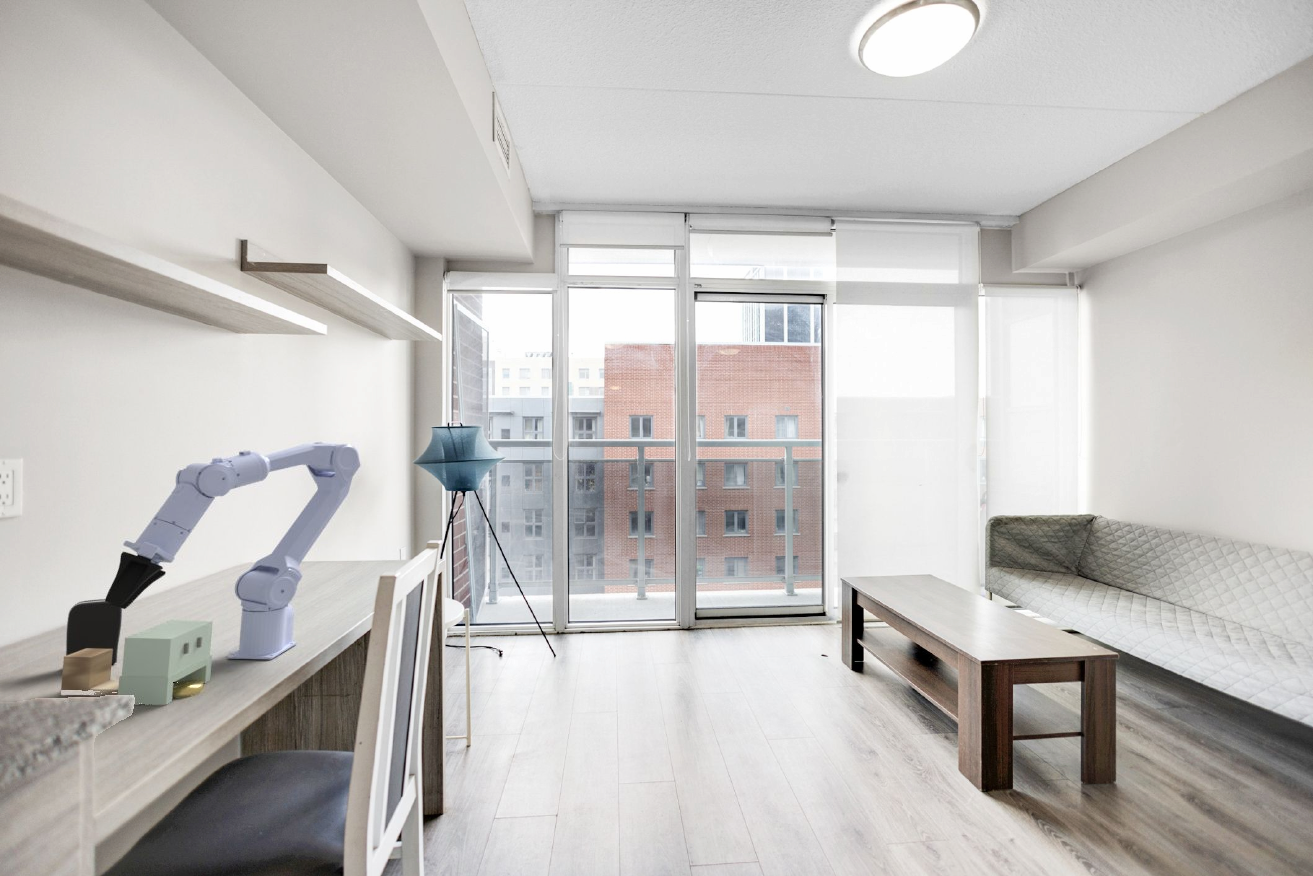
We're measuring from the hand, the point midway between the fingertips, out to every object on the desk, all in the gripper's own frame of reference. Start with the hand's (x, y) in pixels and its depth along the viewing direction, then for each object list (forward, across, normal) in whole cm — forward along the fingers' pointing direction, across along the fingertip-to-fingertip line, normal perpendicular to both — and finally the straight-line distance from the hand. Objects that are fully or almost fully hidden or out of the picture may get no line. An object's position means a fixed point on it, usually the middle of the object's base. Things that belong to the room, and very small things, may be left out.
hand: (115, 605), depth 92 cm
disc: (+9, -1, +15) cm, 18 cm away
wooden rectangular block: (+11, -6, +7) cm, 14 cm away
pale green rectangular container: (+10, -2, +13) cm, 16 cm away
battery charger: (+9, -22, 0) cm, 24 cm away
